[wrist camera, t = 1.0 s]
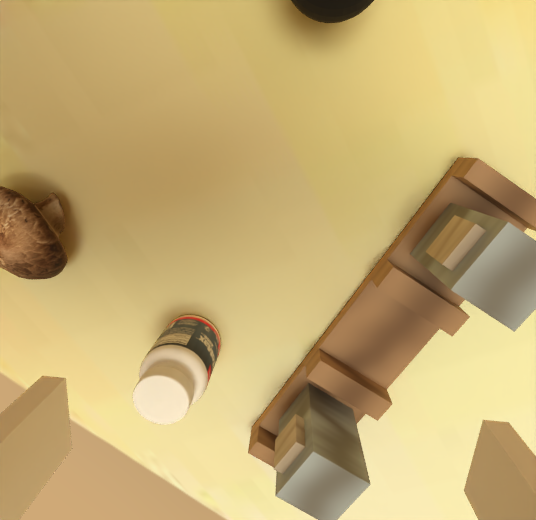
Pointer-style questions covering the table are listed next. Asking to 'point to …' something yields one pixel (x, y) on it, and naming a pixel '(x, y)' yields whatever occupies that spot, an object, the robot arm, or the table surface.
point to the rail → (398, 331)
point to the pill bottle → (177, 369)
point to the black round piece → (331, 9)
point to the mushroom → (31, 236)
